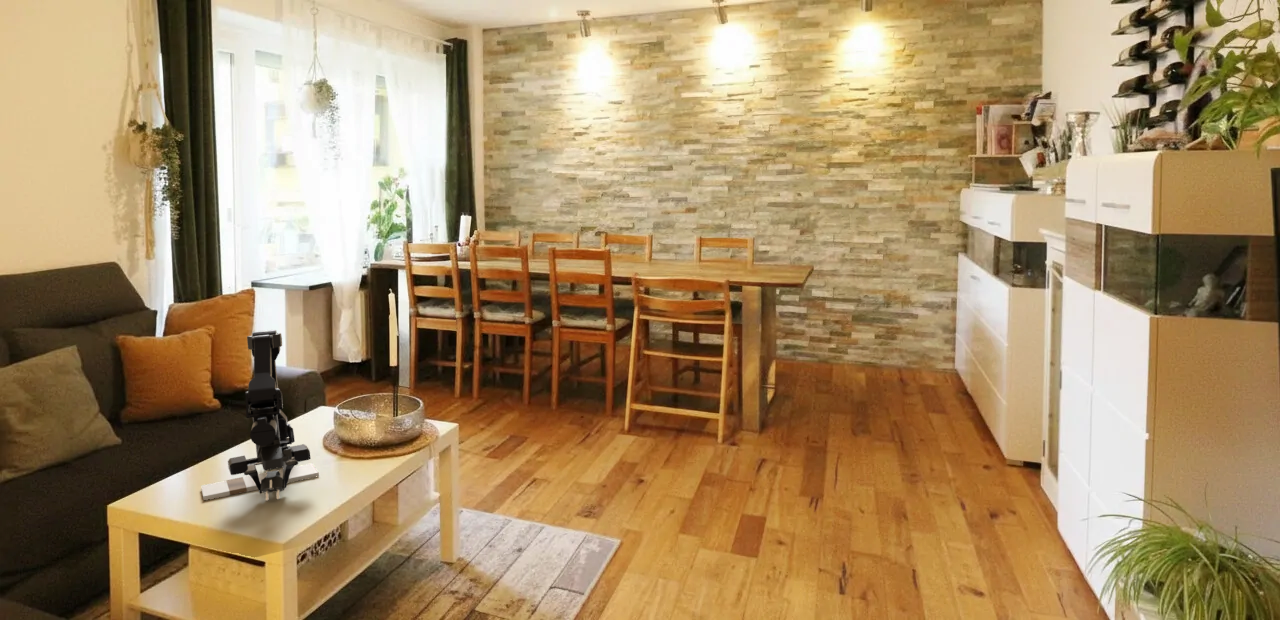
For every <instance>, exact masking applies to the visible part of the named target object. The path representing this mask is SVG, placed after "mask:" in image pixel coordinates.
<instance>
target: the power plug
mask: <svg viewBox="0 0 1280 620" xmlns="http://www.w3.org/2000/svg"><path fill="white" fill-rule="evenodd" d="M266 472H267V476H266V477H265V478H264V479H262V480H261V486H260V491H261V492H262V493H265V502H268V501H269V499H270V494H271V493H274V492H275V493H276V494H275V495H276V496H275V497H276V500H280V499H281V498H280V492H283V491H285V489H286V488H285V481H284V480H283V478H281V477H280V473H279V471H276V470H272V471H271V470H269V471H266Z"/></svg>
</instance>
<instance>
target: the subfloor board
mask: <svg viewBox="0 0 1280 620" xmlns="http://www.w3.org/2000/svg"><path fill="white" fill-rule="evenodd" d="M275 471H279V473H280V477H281V478H283V468H281V469H276V470H275ZM267 472H268V471H266V472H263V473H262V472H261V473H258V477H259V481H260V484H261V480H262V479H264V478H265V477H266V476H267ZM319 474H320V473H319V471H318V469H317V468H316V466H315V465H314V463H313V462H311V463H305V464H302V465H295V466H294V467H293V468H292V470H291V472H290V475H289V479H288V483H287V484H290V483H289V482H291V483H294V482H293V481H296V482H299V481H298V480H300V481H303V480H302V479H305V480H309V479H308V478H310V479H313V478H312V477H315V478H317V477H316V476H320V475H319ZM200 487H201V489H200V490H201V495H202V499H203V501H204V500H206V501H209V500H208V499H210V500H214V498H215V499H219V497H220V498H224V497H229V496H234V495H239V494H242V493H247V492H253V491H257V490H258V488H257V486H256V484H255V482H254V480H253V479H252V478H251V476H250V475H245V476H241V477H237V478H232V479H226V480H222V481H217V482H210V483H208V484H207V483H205V484H202V485H200ZM258 491H259V490H258Z"/></svg>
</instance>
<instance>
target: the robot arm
mask: <svg viewBox="0 0 1280 620" xmlns="http://www.w3.org/2000/svg"><path fill="white" fill-rule="evenodd" d="M246 341H247V350H251V355H252V357H253V378H251V380H250V381H249V382H248V387H247V388H248V390H247V391H245V411H246V414H245V415H246V416H245V417H246V418H247V419H248V418H250V419H251V418H252V421H253V422H252V425H251V430H250V434H249V437H250V440H251V442H252V443H253V444H254V445H255V450H256V457H252V458H246V456H245V455H241V456H235V457H230V458H229V459H228V460H227V465H228V466H227V467H228V470H229V473H230V474H229V475H231V476H237V475H241V474H244V475H243V476H251V478H252V479H253V480H254V482H255V484H256V486H257V488H258V492H259V494H262V493H263V492H261V491H260V486H261V484H260V481H259V477H258V474H259V473H258V470H257V468H256V466H259V465H262V469H263V470H264V471H266V472H268V471H271V470H273V469H280V468H281V469H283V480H284V481H285V489H286V488H287V486H288V484H289V483H288V479H289V475H290V472H291V470H292V468H293V467H296V466H299V463H300V462H306V461H309V460H311V452H310V451H311V450H310V448H309V447H308V446H307V445H306V444H304V443H303V444H297V445H293V446H291V445H292V444H293V443H295V434H294V428H293V427H292V425H291V423H288V416H287V415H286V414H285V413H284V412H283V408H284V407H283V405H284V404H283V393H282V391H281V389H280V388H279V386H278V385H279V383H278V375H277V374H278V373H277V364H276V360H277V358H278V357H279V355H280V351H281V348H282V346H283V338H282V333H281V332H280V333H279V332H277V330H276V329H271V330H268V329H267V330H258V331H252V333H251V335H248V336H246ZM250 409H252V410H250Z"/></svg>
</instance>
